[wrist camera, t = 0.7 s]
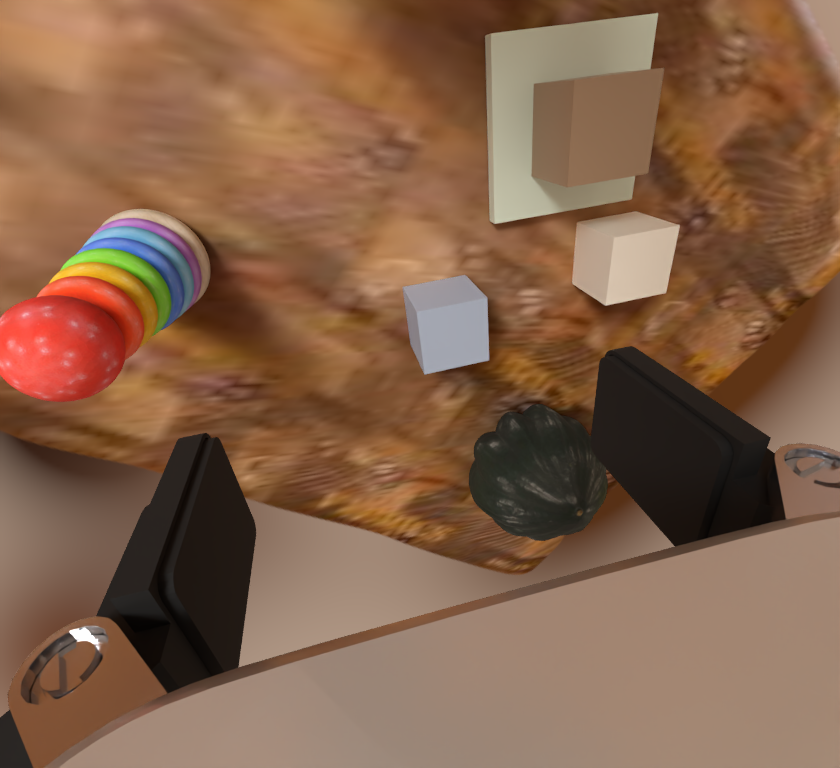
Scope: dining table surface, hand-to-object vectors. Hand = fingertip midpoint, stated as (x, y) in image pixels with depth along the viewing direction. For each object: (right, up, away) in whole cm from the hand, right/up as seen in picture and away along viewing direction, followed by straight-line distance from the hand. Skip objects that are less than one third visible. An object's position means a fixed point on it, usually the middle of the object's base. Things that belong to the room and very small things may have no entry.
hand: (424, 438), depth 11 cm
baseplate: (+12, +22, +26) cm, 36 cm away
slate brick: (+1, +8, +32) cm, 33 cm away
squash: (+11, -6, +44) cm, 45 cm away
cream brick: (+18, +15, +32) cm, 40 cm away
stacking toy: (-21, +11, +24) cm, 34 cm away
